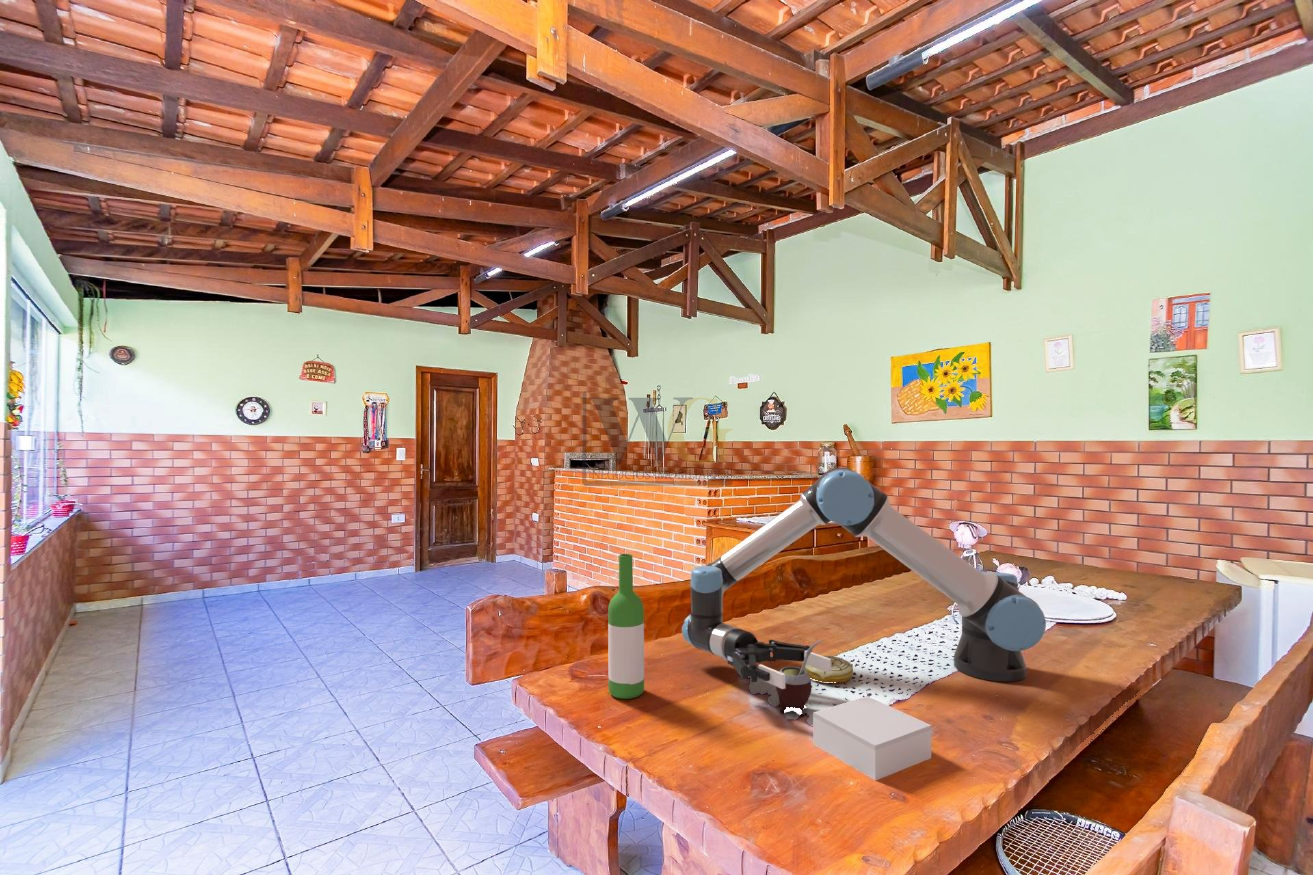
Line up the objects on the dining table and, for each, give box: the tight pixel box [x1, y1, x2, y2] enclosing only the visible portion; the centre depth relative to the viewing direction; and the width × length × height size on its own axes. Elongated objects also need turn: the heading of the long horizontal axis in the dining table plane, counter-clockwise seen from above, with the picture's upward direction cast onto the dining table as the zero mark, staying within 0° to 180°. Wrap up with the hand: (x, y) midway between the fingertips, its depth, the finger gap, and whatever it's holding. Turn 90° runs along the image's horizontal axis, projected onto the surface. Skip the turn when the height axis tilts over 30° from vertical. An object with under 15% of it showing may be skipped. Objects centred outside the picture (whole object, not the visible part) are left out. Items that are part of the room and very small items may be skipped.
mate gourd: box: [775, 639, 823, 718], centre depth 128 cm, size 8×8×15 cm
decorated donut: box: [804, 655, 854, 684], centre depth 145 cm, size 10×11×4 cm
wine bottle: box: [607, 553, 645, 700], centre depth 136 cm, size 8×8×30 cm
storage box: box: [812, 695, 932, 781], centre depth 111 cm, size 14×14×6 cm
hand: (807, 673), depth 125 cm, fingers open, 13 cm apart
